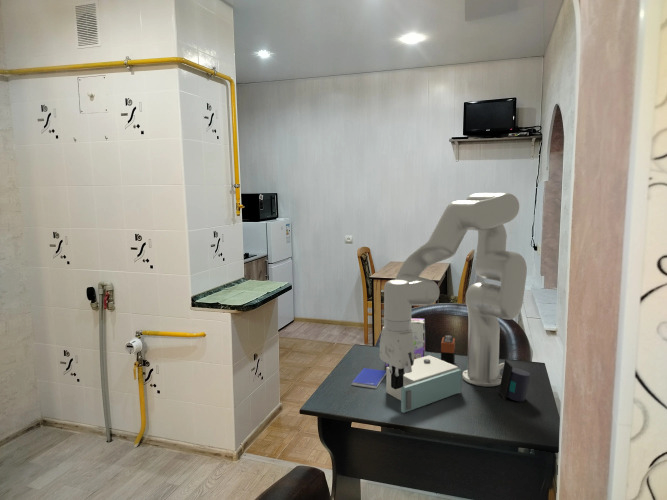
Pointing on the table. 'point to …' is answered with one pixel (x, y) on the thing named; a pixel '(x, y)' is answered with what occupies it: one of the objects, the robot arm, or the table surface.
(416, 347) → the candy box
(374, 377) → the hard drive
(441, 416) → the table surface
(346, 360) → the table surface
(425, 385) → the side door
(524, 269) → the robot arm
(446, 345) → the battery
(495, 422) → the table surface
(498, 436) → the table surface
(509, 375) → the speaker
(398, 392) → the white knobbed box
